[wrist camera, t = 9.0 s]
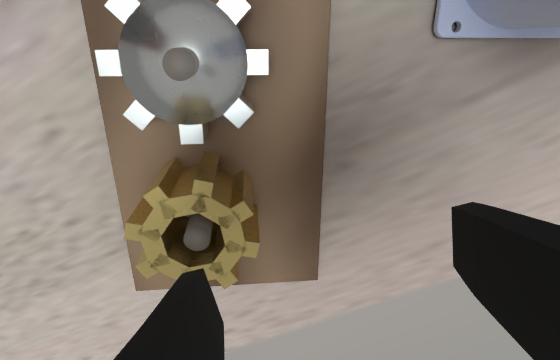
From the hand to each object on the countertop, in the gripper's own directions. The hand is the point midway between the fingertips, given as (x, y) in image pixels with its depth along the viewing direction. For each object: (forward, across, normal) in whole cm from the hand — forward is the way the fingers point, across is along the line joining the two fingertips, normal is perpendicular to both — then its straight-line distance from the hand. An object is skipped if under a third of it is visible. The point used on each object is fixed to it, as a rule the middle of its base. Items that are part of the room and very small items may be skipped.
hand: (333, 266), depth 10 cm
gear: (+9, +4, -6) cm, 12 cm away
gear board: (+10, +4, -1) cm, 11 cm away
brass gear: (+10, +5, +1) cm, 11 cm away
